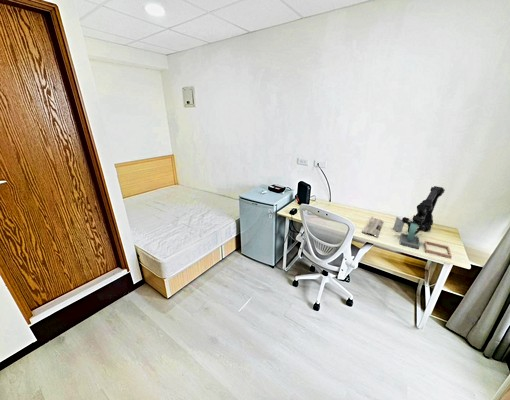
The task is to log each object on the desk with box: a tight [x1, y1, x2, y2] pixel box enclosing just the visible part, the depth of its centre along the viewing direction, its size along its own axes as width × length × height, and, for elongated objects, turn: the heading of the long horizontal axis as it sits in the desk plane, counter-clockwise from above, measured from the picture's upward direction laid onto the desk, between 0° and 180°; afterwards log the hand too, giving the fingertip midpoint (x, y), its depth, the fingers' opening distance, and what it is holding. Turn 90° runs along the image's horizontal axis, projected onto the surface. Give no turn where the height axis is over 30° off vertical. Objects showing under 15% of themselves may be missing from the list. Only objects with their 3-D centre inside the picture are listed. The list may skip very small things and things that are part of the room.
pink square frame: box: [424, 240, 453, 259], centre depth 161 cm, size 15×15×2 cm
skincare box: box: [393, 216, 405, 233], centre depth 188 cm, size 6×4×12 cm
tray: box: [399, 232, 420, 250], centre depth 171 cm, size 16×12×2 cm
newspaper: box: [362, 216, 384, 238], centre depth 194 cm, size 35×12×4 cm, turn 143°
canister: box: [407, 223, 419, 241], centre depth 168 cm, size 4×4×14 cm
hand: (411, 232), depth 168 cm, fingers closed on canister, 4 cm apart
